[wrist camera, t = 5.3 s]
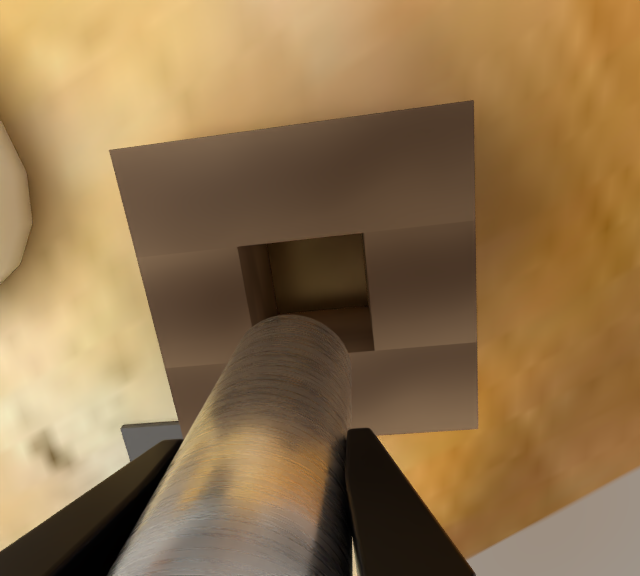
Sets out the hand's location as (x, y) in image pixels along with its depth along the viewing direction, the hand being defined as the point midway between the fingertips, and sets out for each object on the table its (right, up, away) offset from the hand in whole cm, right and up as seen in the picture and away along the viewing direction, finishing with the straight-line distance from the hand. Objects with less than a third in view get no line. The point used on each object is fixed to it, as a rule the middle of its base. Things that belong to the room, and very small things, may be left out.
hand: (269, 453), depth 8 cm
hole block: (+1, +4, +12) cm, 13 cm away
